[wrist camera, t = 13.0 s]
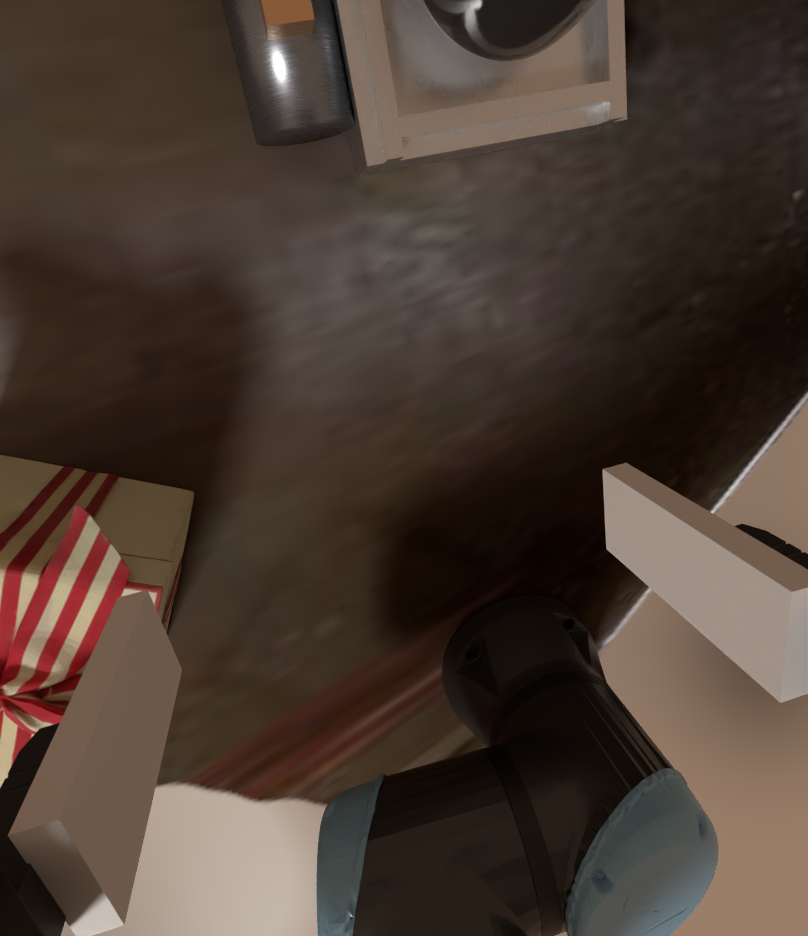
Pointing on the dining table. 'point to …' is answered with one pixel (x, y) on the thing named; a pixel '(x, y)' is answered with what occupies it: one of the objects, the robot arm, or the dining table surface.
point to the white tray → (417, 81)
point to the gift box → (73, 578)
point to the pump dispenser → (506, 24)
